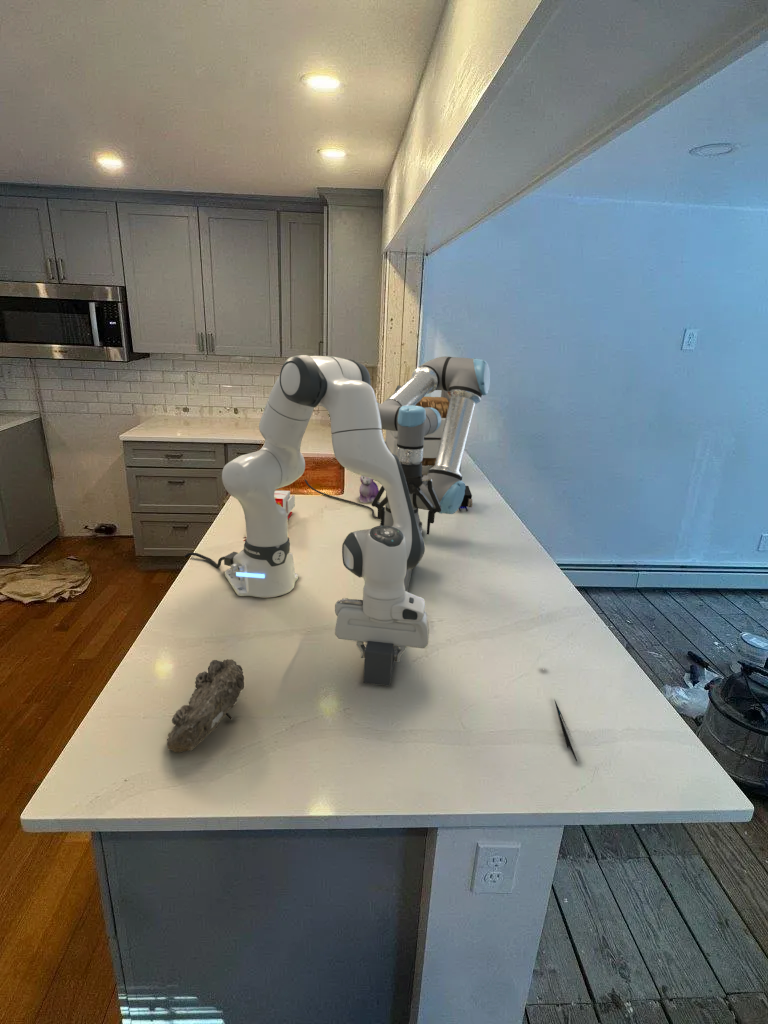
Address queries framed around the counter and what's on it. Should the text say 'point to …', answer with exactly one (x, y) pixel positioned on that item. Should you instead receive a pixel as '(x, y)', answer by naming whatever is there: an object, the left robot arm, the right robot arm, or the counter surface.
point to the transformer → (431, 439)
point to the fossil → (206, 705)
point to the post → (381, 655)
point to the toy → (285, 501)
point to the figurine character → (466, 499)
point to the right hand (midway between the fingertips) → (405, 531)
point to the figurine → (367, 490)
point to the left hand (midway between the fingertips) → (380, 658)
